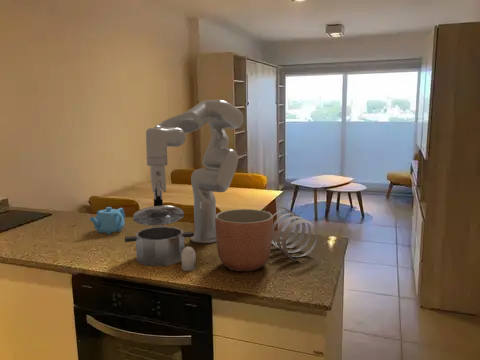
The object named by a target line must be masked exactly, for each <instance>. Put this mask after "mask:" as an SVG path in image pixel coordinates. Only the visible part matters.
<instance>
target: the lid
mask: <svg viewBox="0 0 480 360" xmlns="http://www.w3.org/2000/svg"><path fill="white" fill-rule="evenodd" d="M184 216H185V211H184V210H183V209H182V208H181V207H178V206H175V205H167V204H166V205H165V204H164V205H161V206H154V205H151V206H148V207H144V208H141V209H138V210H137V211H135V212H134V213H133V217H132V218H133V222H135V223H137V224H139V225H142V226H143V225H145V226H165V225H168V224H172V223H175V222H178V221H180V220H182V219H183V218H184Z"/></svg>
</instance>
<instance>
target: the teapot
mask: <svg viewBox="0 0 480 360" xmlns="http://www.w3.org/2000/svg"><path fill="white" fill-rule="evenodd" d="M125 218H126V213H125V210H124V208H123V207H119V208H117V209H116V208H112V206H106V207H105V209H100V210H97V211H96V216H95V217H94V216H90V218H89V221H90V222H91V223H93V228H94V229H95V231H97V232H98V234H103V233H106V235H107V236H109V235H110V236H111V235H113V233H114V232H118V233H119V232H122V229H123V228H124V227H125V224H126V223H125Z"/></svg>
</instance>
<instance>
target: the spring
mask: <svg viewBox="0 0 480 360" xmlns="http://www.w3.org/2000/svg"><path fill="white" fill-rule="evenodd" d="M277 209H283V210H284V211H285V212H287V213H283V214H282V215H280V216H279V217H277V218H276V220H274V221H273V231H272V244H273V246H275V247H277V248H278V249H279V250H280V251H281V252H282V253H283V254H285V255H286V257H288V258H289V259H291V260H292V261H295V262H300V260H296V259H295V258H301V257H304V256H307V255H308V254H310V253H311V252H312V251H313V250H314V248H315V247H316V245H317V243H318V237H319V236H318V231H317V230H316V228H314V229H315V239H314V243H313V245H312V246H311V247H310V249H309V250H307V251H305V253H303V254H300V255H296V256H295V255H294V256H293V255H290V254H295V253H298V252H300V251H302V250H303V249H305V247H307V246H308V245H309V243H310V240H311V238H312V228H311V226H314V225H313V223H312V222H311V221H309V220H308V219H304V218H303V217H300V215H297V214H296V213H295V212H293V211H292V210H289V209H287V207H282V206H281V207H280V206H279V207H277ZM272 210H273V209H272ZM270 211H271V210H270ZM270 211H267V212H268V213H271V212H270ZM280 212H282V210H279V211H277V212H275V213H274V214H272V215H273V217H275V216H276V215H277V214H279V213H280ZM288 215H289V217H287V218H286V219H284V220H283V221H282V222H281V223H280V224H279V226H278V228H277V230H276V241H275V235H274V234H275V233H274V232H275V228H276V226H277V223H278V222H279V221H280V220H281V219H282V218H283V217H286V216H288ZM289 222H290V223H289ZM287 223H289V224H288V225H287V226H286V224H287ZM306 224H307V226H306ZM284 226H286V228H285V229H284V231H283V233H281V232H282V230H283V228H284ZM294 227H295V229H294V232H293V233H292V235H291V236H290V237H289V238H287V237H288V236H289V235H290V234H291V232H292V231H293V228H294ZM306 227H308V236H307V238H306V240H305V242H304V243H303V244H302V245H301V246H299V247H298V248H296V249H293V250H288V249H286V248H290V249H292V248H294V247H297V246H298V245H300V243H301V242H302V241H303V239H304V238H305V234H306V231H307V230H306V229H307V228H306ZM300 228H301V232H300ZM299 233H300V235H299V237H298V238H297V239H296V237H297V236H298V234H299ZM281 234H282V235H281ZM295 239H296V240H295ZM280 240H281V241H280ZM294 240H295V241H294ZM292 241H294V242H293V243H292V244H289V243H291V242H292ZM281 243H282V245H280V244H281ZM277 244H278V245H277ZM287 244H288V245H287Z"/></svg>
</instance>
